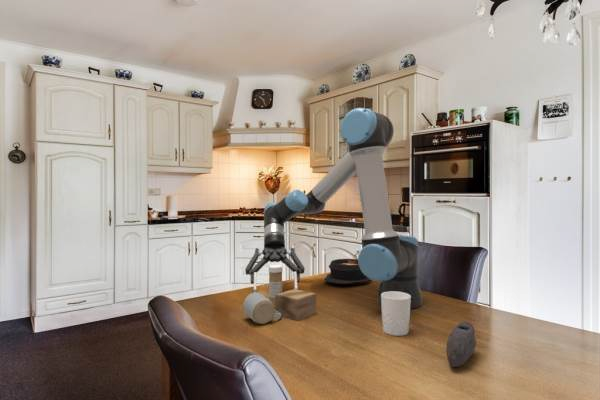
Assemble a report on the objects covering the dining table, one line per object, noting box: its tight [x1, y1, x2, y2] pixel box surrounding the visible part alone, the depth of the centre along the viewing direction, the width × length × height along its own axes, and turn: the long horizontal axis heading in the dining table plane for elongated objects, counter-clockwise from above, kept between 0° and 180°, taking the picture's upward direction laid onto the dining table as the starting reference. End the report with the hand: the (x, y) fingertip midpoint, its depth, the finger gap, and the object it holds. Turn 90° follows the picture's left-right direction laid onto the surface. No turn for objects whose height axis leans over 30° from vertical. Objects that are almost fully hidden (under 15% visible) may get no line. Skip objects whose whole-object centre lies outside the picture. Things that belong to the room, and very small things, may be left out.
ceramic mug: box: [242, 291, 282, 325], centre depth 114 cm, size 11×8×8 cm
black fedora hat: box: [323, 258, 371, 285], centre depth 163 cm, size 25×19×8 cm
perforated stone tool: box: [445, 321, 477, 368], centre depth 87 cm, size 15×5×7 cm, turn 143°
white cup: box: [380, 291, 411, 337], centre depth 105 cm, size 8×8×10 cm
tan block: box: [274, 288, 317, 322], centre depth 120 cm, size 9×9×6 cm
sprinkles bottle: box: [268, 264, 283, 308], centre depth 128 cm, size 5×5×14 cm
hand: (275, 291), depth 126 cm, fingers open, 13 cm apart
